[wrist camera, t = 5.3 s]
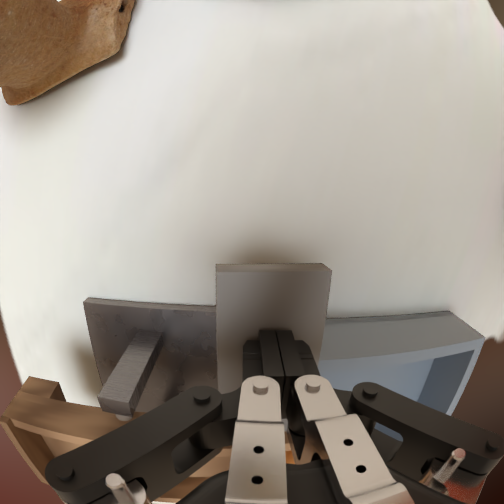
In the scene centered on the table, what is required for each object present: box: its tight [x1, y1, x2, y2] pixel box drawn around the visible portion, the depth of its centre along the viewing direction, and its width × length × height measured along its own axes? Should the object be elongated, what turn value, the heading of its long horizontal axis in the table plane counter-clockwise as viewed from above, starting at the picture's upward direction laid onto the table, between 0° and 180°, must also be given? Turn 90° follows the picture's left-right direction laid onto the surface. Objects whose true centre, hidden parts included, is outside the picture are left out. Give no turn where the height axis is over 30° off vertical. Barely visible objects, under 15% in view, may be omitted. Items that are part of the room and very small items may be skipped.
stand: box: [83, 298, 218, 417], centre depth 19 cm, size 12×16×10 cm
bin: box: [318, 311, 485, 441], centre depth 22 cm, size 16×14×6 cm
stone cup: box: [0, 0, 135, 105], centre depth 10 cm, size 15×12×15 cm
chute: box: [0, 263, 332, 503], centre depth 14 cm, size 20×18×6 cm
